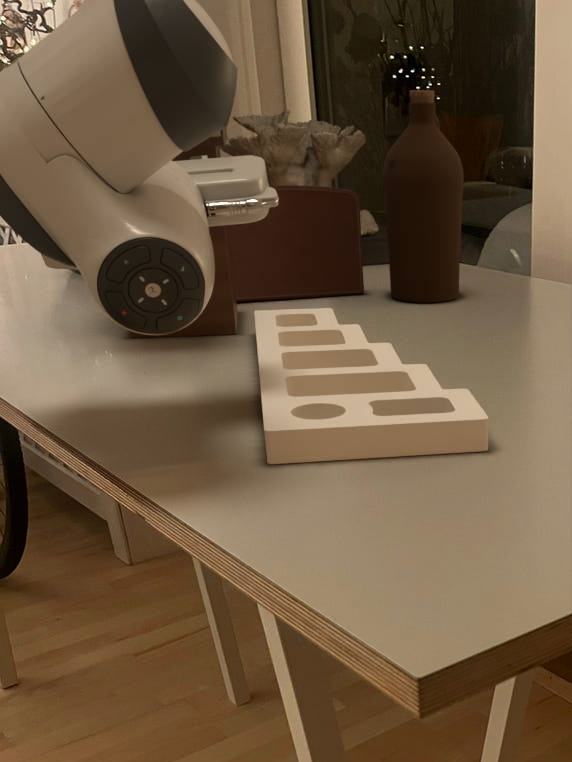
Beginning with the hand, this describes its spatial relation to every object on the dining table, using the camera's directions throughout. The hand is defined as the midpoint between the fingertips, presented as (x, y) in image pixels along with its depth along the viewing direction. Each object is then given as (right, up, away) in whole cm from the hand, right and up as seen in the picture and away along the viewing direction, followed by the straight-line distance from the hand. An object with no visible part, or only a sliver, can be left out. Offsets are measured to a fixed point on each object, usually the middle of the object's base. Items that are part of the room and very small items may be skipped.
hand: (146, 169), depth 88 cm
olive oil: (+22, +6, +50) cm, 55 cm away
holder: (+17, -16, +11) cm, 26 cm away
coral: (0, +21, +76) cm, 79 cm away
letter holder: (+3, +7, +51) cm, 51 cm away
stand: (-6, -4, +32) cm, 33 cm away
